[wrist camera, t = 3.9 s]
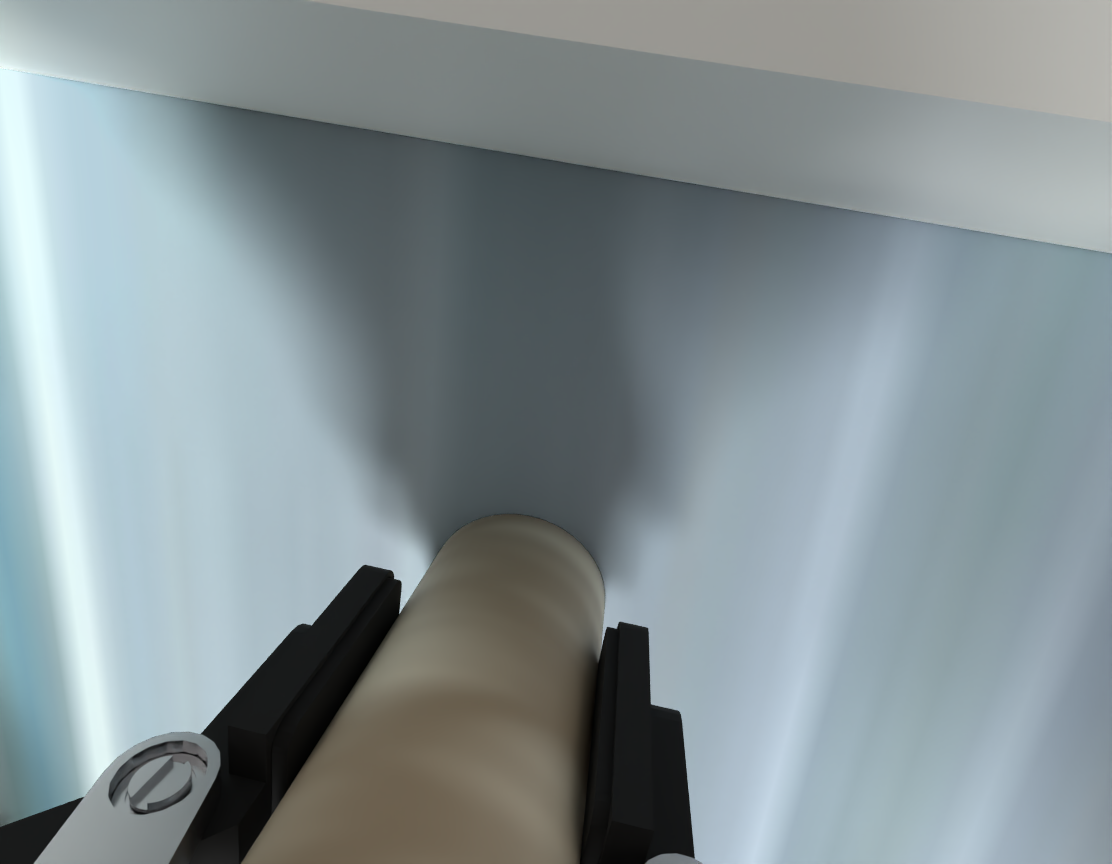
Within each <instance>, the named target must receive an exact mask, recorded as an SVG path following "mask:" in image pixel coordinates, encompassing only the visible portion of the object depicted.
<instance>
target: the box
mask: <svg viewBox="0 0 1112 864" xmlns="http://www.w3.org/2000/svg"><path fill="white" fill-rule="evenodd" d="M0 68H2V69H8V70H14V71H20V72H26V73H32V74H38V75H44V76H50V77H56V78H62V79H68V80H74V81H80V82H86V83H92V84H98V85H104V86H110V87H116V88H122V89H128V90H134V91H140V92H146V93H152V94H158V95H164V96H170V97H176V98H182V99H188V100H194V101H200V102H206V103H212V104H218V105H224V106H230V107H236V108H242V109H248V110H254V111H260V112H266V113H272V114H278V115H284V116H290V117H296V118H302V119H308V120H314V121H320V122H326V123H332V124H338V125H344V126H350V127H356V128H362V129H368V130H374V131H380V132H386V133H392V134H398V135H404V136H410V137H416V138H422V139H428V140H434V141H440V142H446V143H452V144H458V145H464V146H470V147H476V148H482V149H488V150H494V151H500V152H506V153H512V154H518V155H524V156H530V157H536V158H542V159H548V160H554V161H560V162H566V163H572V164H578V165H584V166H590V167H596V168H602V169H608V170H614V171H620V172H626V173H632V174H638V175H644V176H650V177H656V178H662V179H668V180H674V181H680V182H686V183H692V184H698V185H704V186H710V187H716V188H722V189H728V190H734V191H740V192H746V193H752V194H758V195H764V196H770V197H776V198H782V199H788V200H794V201H800V202H806V203H812V204H818V205H824V206H830V207H836V208H842V209H848V210H854V211H860V212H866V213H872V214H878V215H884V216H890V217H896V218H902V219H908V220H914V221H920V222H926V223H932V224H938V225H944V226H950V227H956V228H962V229H968V230H974V231H980V232H986V233H992V234H998V235H1004V236H1010V237H1016V238H1022V239H1028V240H1034V241H1040V242H1046V243H1052V244H1058V245H1064V246H1070V247H1076V248H1082V249H1088V250H1094V251H1100V252H1106V253H1112V0H0Z"/></svg>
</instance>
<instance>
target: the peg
mask: <svg viewBox="0 0 1112 864" xmlns="http://www.w3.org/2000/svg"><path fill="white" fill-rule="evenodd" d="M604 609H605V590H604V584H603V580H602V577H601V574H600V571H599V569H598V567H597V565H596V563H595V561H594V560H593V558H592V557H591V555H590V554H589V552H588V551H587V550H586V549H585V548H584V546H583V545H582V544H581V543H580V542H579V541H577V540H576V539H575V538H574V537H573V536H572V535H570V534H569V533H567V532H566V531H565V530H563V529H561V528H559V527H558V526H556V525H554V524H552V523H549V522H547V521H544V520H542V519H538V518H535V517H531V516H526V515H519V514H501V515H493V516H488V517H484V518H481V519H478V520H475V521H473V522H471V523H469V524H467V525H465V526H463V527H462V528H461V529H459V530H458V531H456V532H455V533H454V534H453V535H452V536H451V537H450V538H449V539H448V540H447V541H446V543H445V544H444V545H443V547H442V548H441V550H440V551H439V553H438V554H437V556H436V558H435V559H434V561H433V562H432V564H431V565H430V567H429V569H428V570H427V572H426V573H425V575H424V576H423V578H422V580H421V581H420V583H419V584H418V586H417V587H416V589H415V591H414V592H413V594H412V595H411V597H410V598H409V600H408V602H407V603H406V605H405V606H404V608H403V609H402V611H401V613H400V614H399V616H398V617H397V619H396V620H395V622H394V624H393V625H392V627H391V628H390V630H389V631H388V633H387V635H386V636H385V638H384V639H383V641H382V642H381V644H380V646H379V647H378V649H377V650H376V652H375V653H374V655H373V657H372V658H371V660H370V661H369V663H368V664H367V666H366V668H365V669H364V671H363V672H362V674H361V675H360V677H359V679H358V680H357V682H356V683H355V685H354V686H353V688H352V690H351V691H350V693H349V694H348V696H347V697H346V699H345V701H344V702H343V704H342V705H341V707H340V709H339V710H338V712H337V713H336V715H335V716H334V718H333V720H332V721H331V723H330V724H329V726H328V727H327V729H326V731H325V732H324V734H323V735H322V737H321V738H320V740H319V742H318V743H317V745H316V746H315V748H314V749H313V751H312V753H311V754H310V756H309V757H308V759H307V760H306V762H305V764H304V765H303V767H302V768H301V770H300V771H299V773H298V775H297V776H296V778H295V779H294V781H293V782H292V784H291V786H290V787H289V789H288V790H287V792H286V793H285V795H284V797H283V798H282V800H281V801H280V803H279V804H278V806H277V808H276V809H275V811H274V812H273V814H272V815H271V817H270V819H269V820H268V822H267V823H266V825H265V826H264V828H263V830H262V831H261V833H260V834H259V836H258V837H257V839H256V841H255V842H254V844H253V845H252V847H251V848H250V850H249V852H248V853H247V855H246V856H245V858H244V859H243V861H242V863H241V864H580V858H581V847H582V836H583V825H584V814H585V803H586V792H587V781H588V771H589V760H590V749H591V738H592V727H593V716H594V705H595V694H596V684H597V673H598V662H599V658H600V653H601V643H602V632H603V621H604Z"/></svg>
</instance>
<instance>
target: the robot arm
mask: <svg viewBox="0 0 1112 864" xmlns="http://www.w3.org/2000/svg"><path fill="white" fill-rule="evenodd" d="M401 585H402V584H401V581H400V580H396V579H394V574H393V572H392V571H391V570H386V569H382V568H377V567H373V566H368V565H363V566H362V567H361V568H360V569H359V570H358V571H357V572H356V574H355V575H354V576H353V577H352V578H351V580H350V581H349V582H348V583H347V584H346V586H345V587H344V588H343V589H342V590H341V591H340V593H339V594H338V595H337V596H336V597H335V599H334V600H333V601H332V602H331V603H330V604H329V606H328V607H327V608H326V609H325V610H324V612H323V613H322V614H321V615H320V616H319V617H318V619H317V620H316V621H315V622H314V623H313V625H312V626H311V625H307V624H301V625H298V626H297V627H296V628H295V629H293V630H292V631H291V632H290V634H289V635H288V636H287V637H286V638H285V639H284V640H283V642H282V643H281V644H280V645H279V646H278V647H277V648H276V649H275V651H274V652H273V653H272V654H271V655H270V656H269V657H268V658H267V660H266V661H265V662H264V663H263V664H262V665H261V666H260V668H259V669H258V670H257V671H256V672H255V673H254V674H253V675H252V677H251V678H250V679H249V680H248V681H247V682H246V683H245V685H244V686H243V687H242V688H241V689H240V690H239V691H238V692H237V694H236V695H235V696H234V697H233V698H232V699H231V700H230V701H229V703H228V704H227V705H226V706H225V707H224V708H223V709H222V711H221V712H220V713H219V714H218V715H217V716H216V717H215V718H214V720H213V721H212V722H211V723H210V724H209V725H208V726H207V728H206V729H205V730H204V731H203V732H202V733H201V734H197V733H192V732H171V733H167V734H163V735H159V736H156V737H152V738H150V739H148V740H146V741H143V742H141V743H139V744H137V745H135V746H133V747H132V748H130V749H129V750H127V751H126V752H124V753H123V754H122V755H120V756H119V757H117V758H116V759H115V760H114V761H113V762H112V764H111V765H110V766H109V767H108V768H107V769H106V770H105V771H104V772H103V773H102V775H101V776H100V777H99V779H98V780H97V781H96V782H95V784H94V785H93V786H92V788H91V789H90V790H89V792H88V793H87V794H86V796H85V797H82V798H79V799H76V800H74V801H71V802H68V803H65V804H63V805H60V806H57V807H54V808H52V809H49V810H46V811H43V812H41V813H38V814H35V815H32V816H30V817H27V818H24V819H21V820H19V821H16V822H13V823H10V824H8V825H5V826H2V827H0V864H241V863H242V861H243V859H244V858H245V856H246V855H247V853H248V852H249V850H250V848H251V847H252V845H253V844H254V842H255V841H256V839H257V837H258V836H259V834H260V833H261V831H262V830H263V828H264V826H265V825H266V823H267V822H268V820H269V819H270V817H271V815H272V814H273V812H274V811H275V809H276V808H277V806H278V804H279V803H280V801H281V800H282V798H283V797H284V795H285V793H286V792H287V790H288V789H289V787H290V786H291V784H292V782H293V781H294V779H295V778H296V776H297V775H298V773H299V771H300V770H301V768H302V767H303V765H304V764H305V762H306V760H307V759H308V757H309V756H310V754H311V753H312V751H313V749H314V748H315V746H316V745H317V743H318V742H319V740H320V738H321V737H322V735H323V734H324V732H325V731H326V729H327V727H328V726H329V724H330V723H331V721H332V720H333V718H334V716H335V715H336V713H337V712H338V710H339V709H340V707H341V705H342V704H343V702H344V701H345V699H346V697H347V696H348V694H349V693H350V691H351V690H352V688H353V686H354V685H355V683H356V682H357V680H358V679H359V677H360V675H361V674H362V672H363V671H364V669H365V668H366V666H367V664H368V663H369V661H370V660H371V658H372V657H373V655H374V653H375V652H376V650H377V649H378V647H379V646H380V644H381V642H382V641H383V639H384V638H385V636H386V635H387V633H388V631H389V630H390V628H391V627H392V625H393V624H394V622H395V620H396V619H397V617H398V616H399V609H400V598H401ZM580 864H702V863H701V862H699V861H697V860H696V859H695V857H694V846H693V835H692V824H691V814H690V803H689V792H688V781H687V771H686V760H685V749H684V738H683V728H682V719H681V714H680V712H679V711H677V710H672V709H668V708H664V707H659V706H655V705H651V698H650V664H649V632H648V628H646V627H642V626H637V625H633V624H628V623H624V622H619V624H618V627H617V629H614V628H610V627H607V629H606V632H605V636H604V640H603V645H602V649H601V653H600V658H599V662H598V673H597V684H596V694H595V705H594V716H593V727H592V738H591V749H590V760H589V771H588V781H587V792H586V803H585V814H584V825H583V836H582V847H581V858H580Z"/></svg>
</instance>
